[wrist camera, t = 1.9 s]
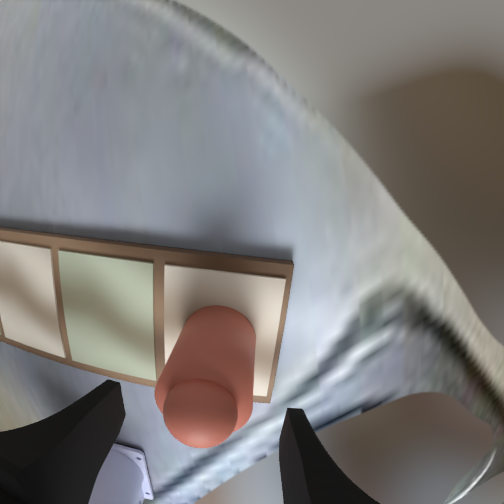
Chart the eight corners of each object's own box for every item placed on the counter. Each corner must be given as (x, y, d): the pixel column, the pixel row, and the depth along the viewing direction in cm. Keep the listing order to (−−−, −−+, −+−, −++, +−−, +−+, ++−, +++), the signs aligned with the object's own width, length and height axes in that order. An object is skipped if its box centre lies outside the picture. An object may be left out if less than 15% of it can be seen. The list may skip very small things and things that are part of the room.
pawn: (251, 371, 19) (245, 474, 11) (182, 362, 19) (145, 458, 11) (259, 310, 18) (256, 407, 10) (183, 300, 18) (134, 388, 10)
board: (269, 396, 21) (270, 405, 20) (-34, 319, 21) (-40, 323, 20) (292, 261, 18) (294, 266, 17) (-50, 221, 18) (-57, 223, 17)
